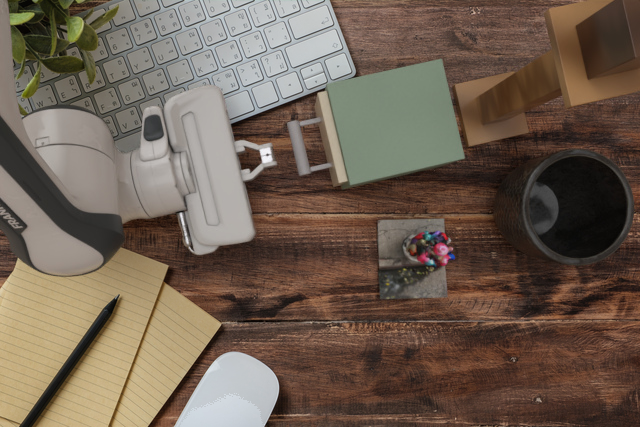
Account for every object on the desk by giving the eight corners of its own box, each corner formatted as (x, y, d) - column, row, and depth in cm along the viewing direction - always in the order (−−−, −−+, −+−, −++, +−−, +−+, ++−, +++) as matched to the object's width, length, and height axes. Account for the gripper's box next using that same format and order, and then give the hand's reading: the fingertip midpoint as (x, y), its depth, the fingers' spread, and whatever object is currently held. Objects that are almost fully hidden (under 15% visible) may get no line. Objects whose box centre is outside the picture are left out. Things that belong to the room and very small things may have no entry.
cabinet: (341, 189, 67) (350, 185, 58) (321, 102, 67) (326, 83, 58) (440, 166, 68) (465, 158, 59) (420, 80, 68) (442, 58, 59)
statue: (375, 221, 69) (396, 206, 54) (439, 220, 69) (478, 205, 54) (378, 298, 68) (401, 305, 53) (444, 296, 68) (484, 303, 53)
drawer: (302, 194, 66) (303, 191, 58) (283, 113, 66) (282, 100, 58) (426, 165, 67) (443, 158, 60) (407, 86, 67) (423, 69, 59)
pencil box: (574, 25, 43) (621, -6, 37) (626, 14, 43) (681, -19, 37) (587, 80, 43) (635, 58, 37) (639, 68, 43) (695, 44, 37)
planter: (478, 258, 69) (522, 267, 56) (477, 160, 69) (520, 148, 56) (572, 256, 70) (637, 265, 57) (571, 160, 70) (635, 147, 57)
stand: (451, 86, 69) (548, 8, 43) (511, 73, 69) (642, -12, 43) (465, 147, 69) (571, 106, 43) (525, 134, 69) (664, 85, 43)
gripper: (181, 261, 57) (293, 234, 58) (141, 94, 57) (254, 70, 58) (192, 256, 64) (293, 232, 65) (156, 107, 64) (258, 84, 64)
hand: (274, 154), depth 61 cm, fingers closed
